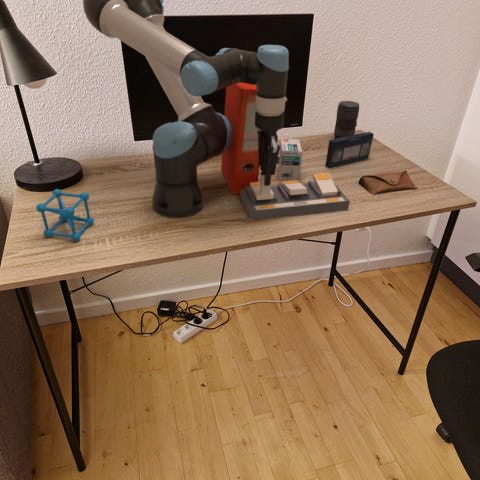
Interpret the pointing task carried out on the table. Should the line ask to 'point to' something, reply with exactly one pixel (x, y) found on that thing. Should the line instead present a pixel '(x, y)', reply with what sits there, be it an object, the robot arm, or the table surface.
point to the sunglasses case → (386, 182)
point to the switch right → (325, 184)
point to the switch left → (256, 191)
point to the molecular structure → (65, 214)
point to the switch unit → (292, 202)
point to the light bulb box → (290, 159)
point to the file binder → (241, 138)
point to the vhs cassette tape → (348, 149)
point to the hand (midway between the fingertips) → (265, 193)
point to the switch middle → (294, 187)
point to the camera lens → (346, 119)
